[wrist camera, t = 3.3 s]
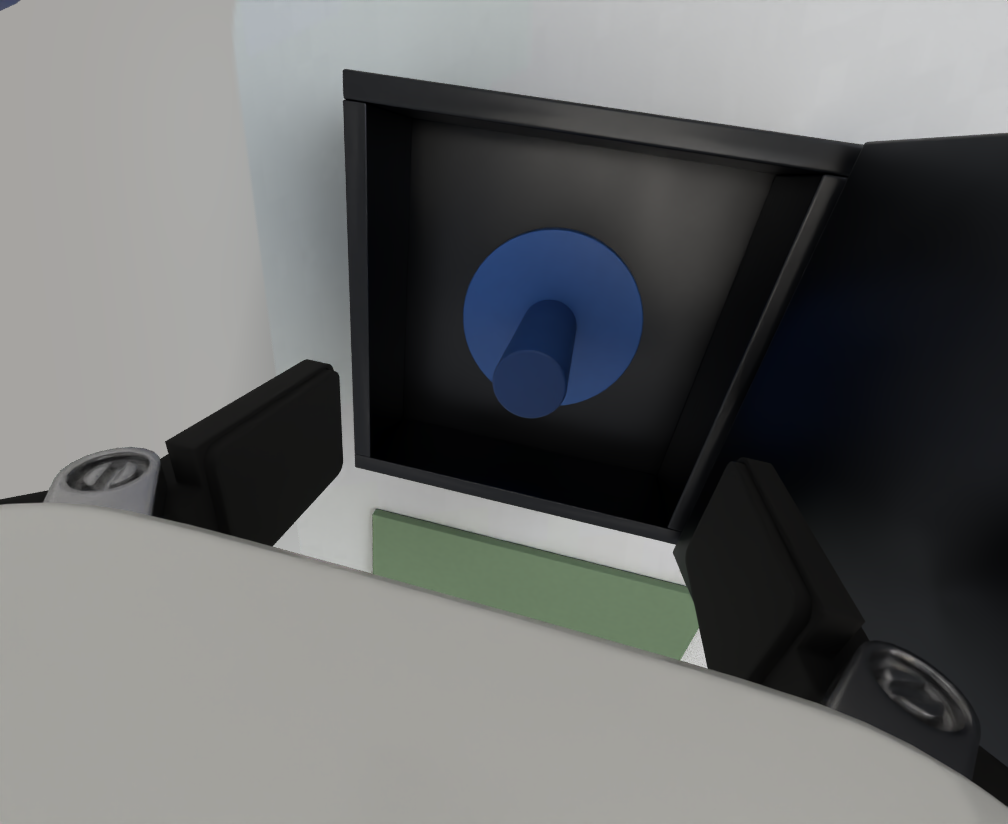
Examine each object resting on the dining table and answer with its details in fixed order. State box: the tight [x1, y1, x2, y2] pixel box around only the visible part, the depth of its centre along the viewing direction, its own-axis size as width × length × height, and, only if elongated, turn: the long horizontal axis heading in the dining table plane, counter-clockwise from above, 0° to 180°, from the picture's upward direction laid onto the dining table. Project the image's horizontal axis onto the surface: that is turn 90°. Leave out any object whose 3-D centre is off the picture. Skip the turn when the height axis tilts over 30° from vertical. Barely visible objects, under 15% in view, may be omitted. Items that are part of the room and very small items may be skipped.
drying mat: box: [372, 509, 699, 660], centre depth 33 cm, size 22×22×1 cm
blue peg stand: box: [463, 227, 643, 418], centre depth 17 cm, size 8×8×7 cm
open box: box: [343, 69, 863, 545], centre depth 19 cm, size 16×16×5 cm
